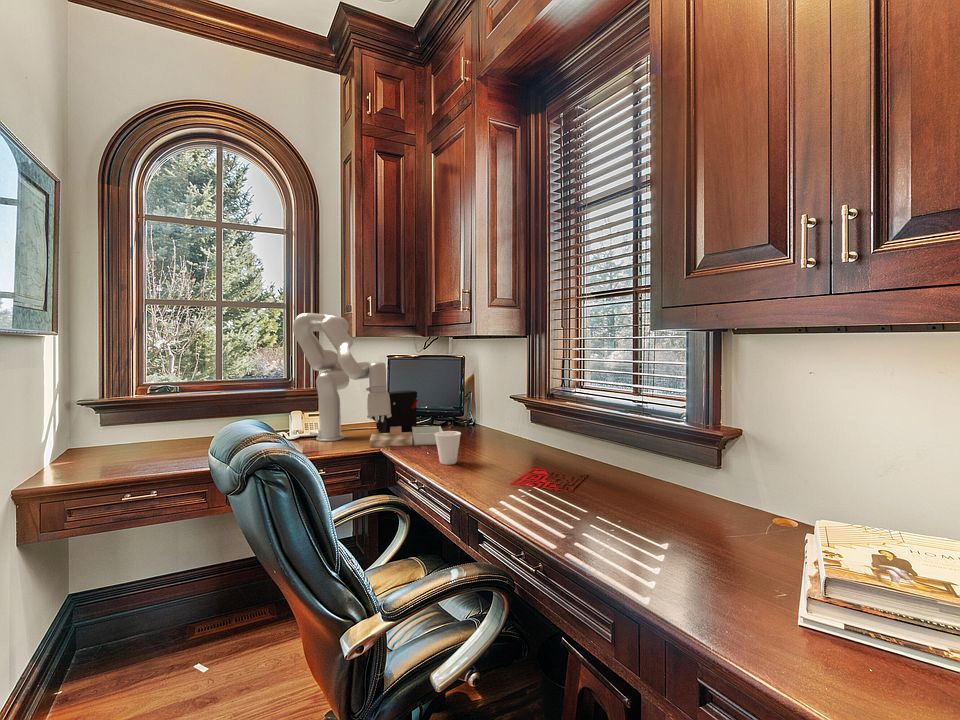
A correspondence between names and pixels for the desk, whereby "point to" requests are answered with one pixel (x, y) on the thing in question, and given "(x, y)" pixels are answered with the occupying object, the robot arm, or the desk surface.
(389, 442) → the board
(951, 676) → the desk surface
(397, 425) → the electrical component
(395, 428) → the tile terracotta
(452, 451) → the cup
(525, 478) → the maze puzzle
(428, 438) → the tray
